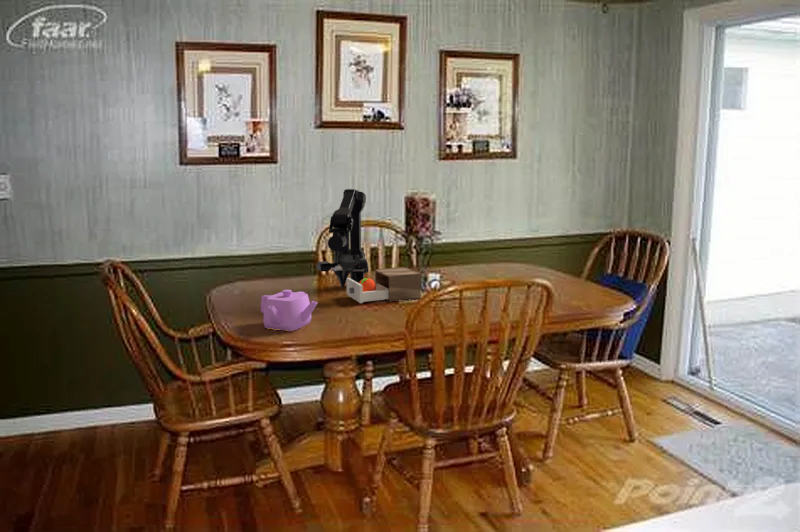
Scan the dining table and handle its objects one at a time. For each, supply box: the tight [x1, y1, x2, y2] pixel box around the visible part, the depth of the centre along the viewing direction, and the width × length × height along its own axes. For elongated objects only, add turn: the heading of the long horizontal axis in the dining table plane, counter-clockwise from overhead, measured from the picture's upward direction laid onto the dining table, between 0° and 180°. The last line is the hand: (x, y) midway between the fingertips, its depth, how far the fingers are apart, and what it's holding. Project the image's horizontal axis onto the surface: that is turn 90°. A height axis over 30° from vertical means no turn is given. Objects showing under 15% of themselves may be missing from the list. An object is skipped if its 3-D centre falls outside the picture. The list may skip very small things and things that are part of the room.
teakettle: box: [260, 289, 318, 331], centre depth 242 cm, size 17×17×12 cm
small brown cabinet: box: [374, 266, 422, 303], centre depth 283 cm, size 15×13×10 cm
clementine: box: [359, 277, 376, 292], centre depth 278 cm, size 8×7×7 cm
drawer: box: [346, 277, 389, 304], centre depth 278 cm, size 15×14×7 cm
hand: (342, 286), depth 274 cm, fingers closed
